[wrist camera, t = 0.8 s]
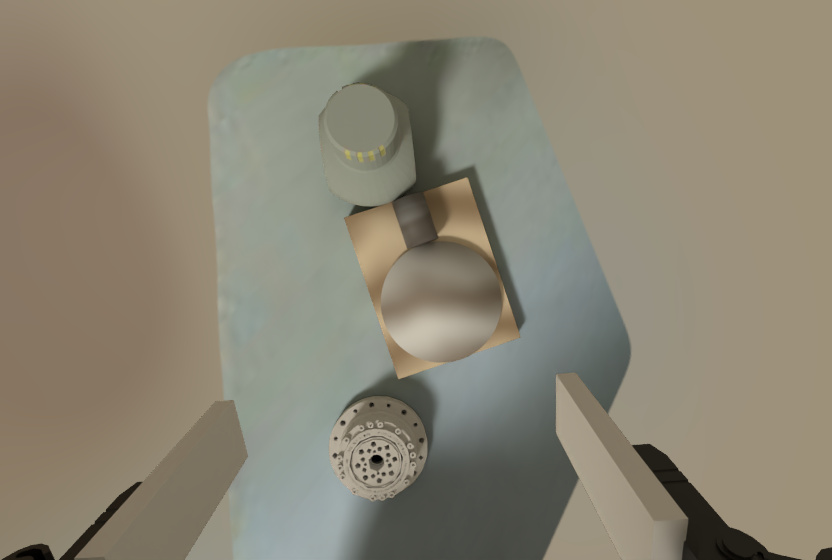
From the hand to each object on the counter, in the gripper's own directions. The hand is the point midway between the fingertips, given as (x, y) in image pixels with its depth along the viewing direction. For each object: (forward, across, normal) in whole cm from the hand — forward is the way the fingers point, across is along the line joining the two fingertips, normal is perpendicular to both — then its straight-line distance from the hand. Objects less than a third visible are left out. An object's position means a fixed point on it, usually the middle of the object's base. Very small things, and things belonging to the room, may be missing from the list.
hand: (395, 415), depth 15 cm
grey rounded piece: (+28, +3, -11) cm, 31 cm away
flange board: (+25, -2, +1) cm, 25 cm away
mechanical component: (+20, +5, +17) cm, 27 cm away
